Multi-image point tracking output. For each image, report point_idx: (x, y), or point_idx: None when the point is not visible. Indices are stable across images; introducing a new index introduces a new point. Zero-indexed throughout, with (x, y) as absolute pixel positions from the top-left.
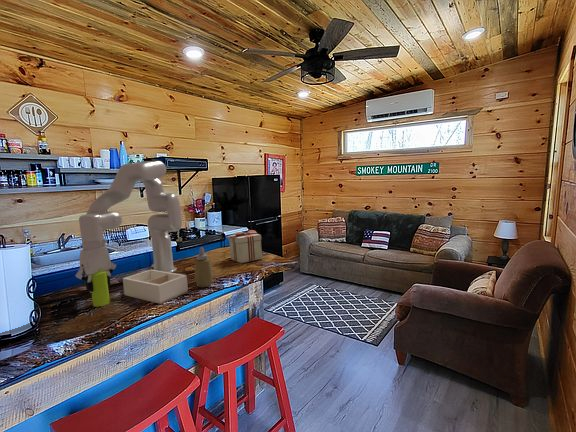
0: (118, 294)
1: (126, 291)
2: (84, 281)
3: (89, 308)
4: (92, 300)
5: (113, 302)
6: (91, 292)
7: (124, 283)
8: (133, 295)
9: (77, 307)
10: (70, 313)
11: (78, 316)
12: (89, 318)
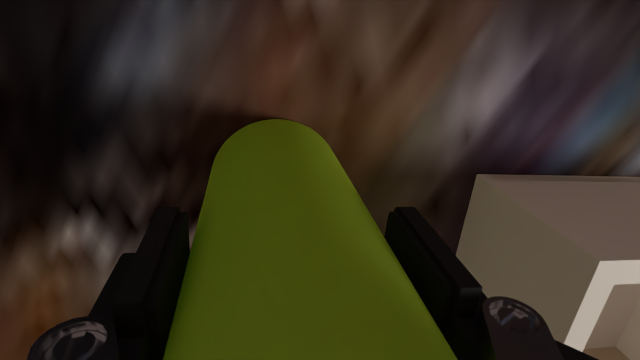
0: (482, 105)
1: (489, 222)
2: (51, 342)
3: (169, 179)
4: (210, 176)
5: None
6: (199, 219)
7: (545, 248)
8: None
9: (115, 34)
10: (10, 129)
11: (38, 258)
12: None
